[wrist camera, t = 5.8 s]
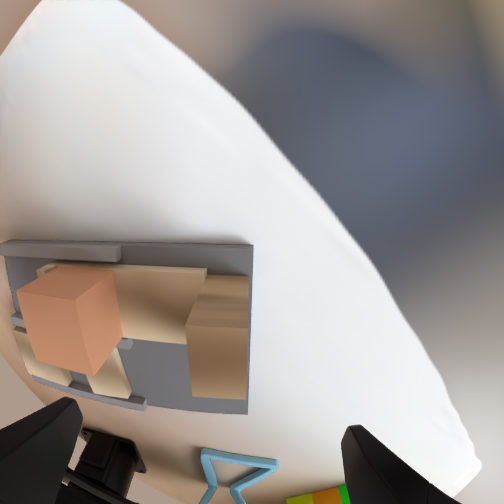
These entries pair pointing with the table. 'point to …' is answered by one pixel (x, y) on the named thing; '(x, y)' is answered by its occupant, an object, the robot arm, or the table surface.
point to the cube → (72, 318)
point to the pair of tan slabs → (104, 382)
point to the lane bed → (135, 350)
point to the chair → (206, 454)
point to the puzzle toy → (322, 497)
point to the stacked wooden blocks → (186, 318)
